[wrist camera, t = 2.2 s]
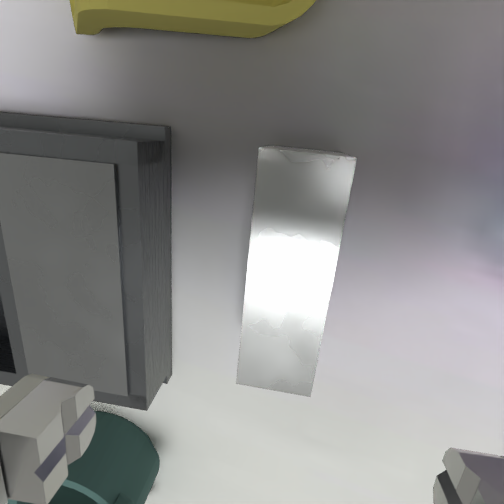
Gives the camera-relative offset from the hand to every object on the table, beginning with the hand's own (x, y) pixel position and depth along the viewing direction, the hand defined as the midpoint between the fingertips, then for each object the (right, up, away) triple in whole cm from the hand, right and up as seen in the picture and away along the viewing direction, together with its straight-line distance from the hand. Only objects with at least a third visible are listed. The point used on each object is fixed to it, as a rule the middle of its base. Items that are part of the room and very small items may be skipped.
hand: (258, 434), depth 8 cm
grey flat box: (-12, +4, +13) cm, 18 cm away
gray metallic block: (+2, +4, +11) cm, 12 cm away
